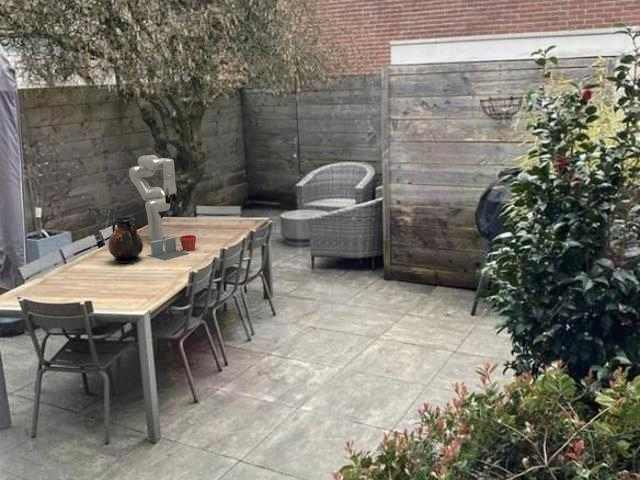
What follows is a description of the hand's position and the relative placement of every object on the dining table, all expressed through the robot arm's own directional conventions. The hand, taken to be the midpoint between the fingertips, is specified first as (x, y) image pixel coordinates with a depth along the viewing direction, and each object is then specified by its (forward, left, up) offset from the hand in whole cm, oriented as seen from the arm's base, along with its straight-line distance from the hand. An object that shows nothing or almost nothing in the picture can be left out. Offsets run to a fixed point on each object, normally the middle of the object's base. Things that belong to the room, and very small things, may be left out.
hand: (171, 202), depth 411 cm
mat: (+12, -14, -33) cm, 38 cm away
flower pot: (+12, +3, -33) cm, 35 cm away
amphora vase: (+2, -39, -33) cm, 51 cm away
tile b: (+7, -19, -32) cm, 38 cm away
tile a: (+7, -9, -32) cm, 34 cm away
